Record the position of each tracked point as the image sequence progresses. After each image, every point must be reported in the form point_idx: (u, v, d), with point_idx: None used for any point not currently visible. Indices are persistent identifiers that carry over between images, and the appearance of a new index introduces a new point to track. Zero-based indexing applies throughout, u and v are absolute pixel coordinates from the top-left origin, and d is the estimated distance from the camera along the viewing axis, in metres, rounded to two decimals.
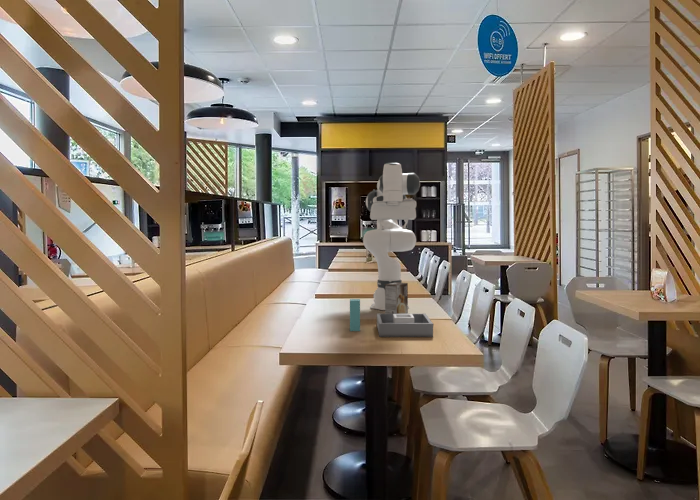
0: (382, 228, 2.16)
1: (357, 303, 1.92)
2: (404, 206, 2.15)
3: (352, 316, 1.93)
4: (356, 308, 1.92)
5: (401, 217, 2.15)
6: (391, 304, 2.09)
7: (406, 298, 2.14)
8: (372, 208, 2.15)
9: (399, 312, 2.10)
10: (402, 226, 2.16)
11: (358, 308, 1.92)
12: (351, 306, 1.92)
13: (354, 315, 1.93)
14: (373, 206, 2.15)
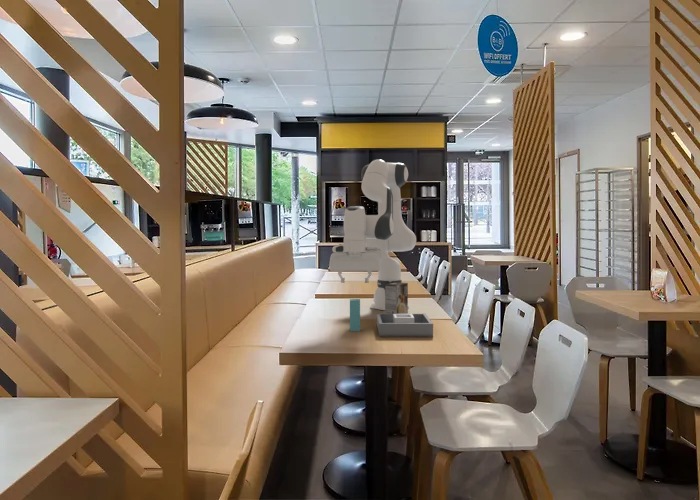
0: (342, 281, 1.93)
1: (357, 303, 1.92)
2: (367, 256, 1.91)
3: (352, 316, 1.93)
4: (356, 308, 1.92)
5: (363, 269, 1.91)
6: (391, 304, 2.09)
7: (406, 298, 2.14)
8: (331, 259, 1.91)
9: (399, 312, 2.10)
10: (365, 279, 1.93)
11: (358, 308, 1.92)
12: (351, 306, 1.92)
13: (354, 315, 1.93)
14: (332, 257, 1.91)
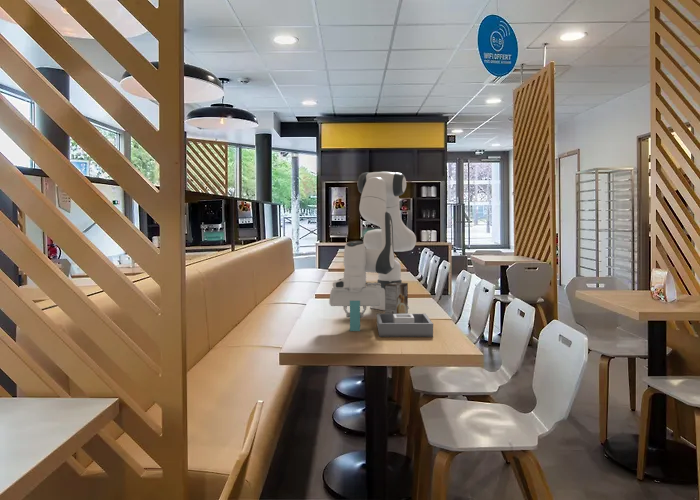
0: (348, 316, 1.94)
1: (357, 303, 1.92)
2: (367, 291, 1.92)
3: (352, 316, 1.93)
4: (356, 308, 1.92)
5: (364, 304, 1.92)
6: (391, 304, 2.09)
7: (406, 298, 2.14)
8: (331, 294, 1.92)
9: (399, 312, 2.10)
10: (360, 314, 1.94)
11: (358, 308, 1.92)
12: (351, 306, 1.92)
13: (354, 315, 1.93)
14: (332, 292, 1.92)
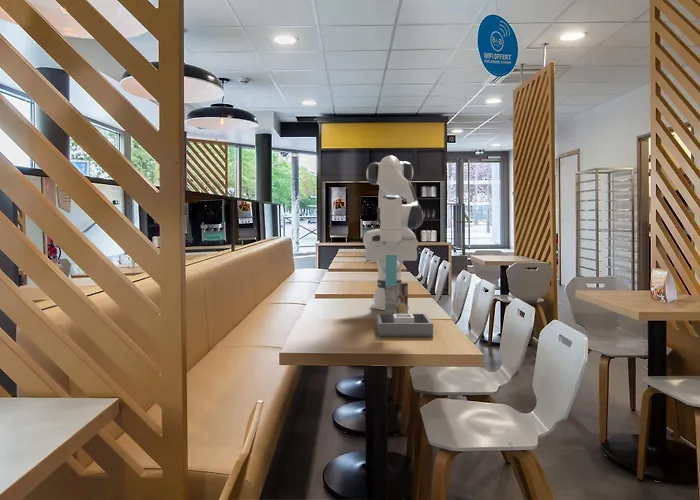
0: (384, 271, 1.91)
1: (393, 257, 1.89)
2: (403, 246, 1.89)
3: (388, 271, 1.90)
4: (392, 263, 1.90)
5: (400, 259, 1.90)
6: (391, 304, 2.09)
7: (406, 298, 2.14)
8: (367, 249, 1.89)
9: (399, 312, 2.10)
10: None
11: (394, 263, 1.90)
12: (387, 260, 1.90)
13: (390, 270, 1.90)
14: (368, 246, 1.89)
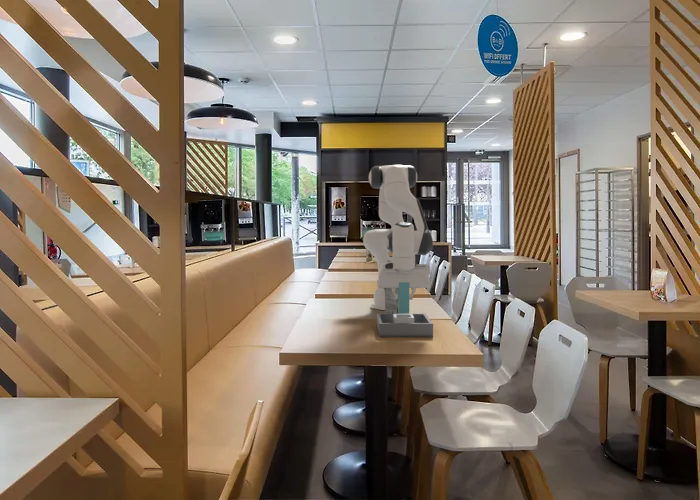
0: (396, 298, 1.91)
1: (406, 285, 1.89)
2: (416, 273, 1.89)
3: (401, 299, 1.90)
4: (405, 290, 1.90)
5: (413, 286, 1.90)
6: (391, 304, 2.09)
7: None
8: (380, 276, 1.89)
9: None
10: (409, 296, 1.91)
11: (407, 290, 1.90)
12: (400, 288, 1.90)
13: (403, 297, 1.90)
14: (381, 274, 1.89)
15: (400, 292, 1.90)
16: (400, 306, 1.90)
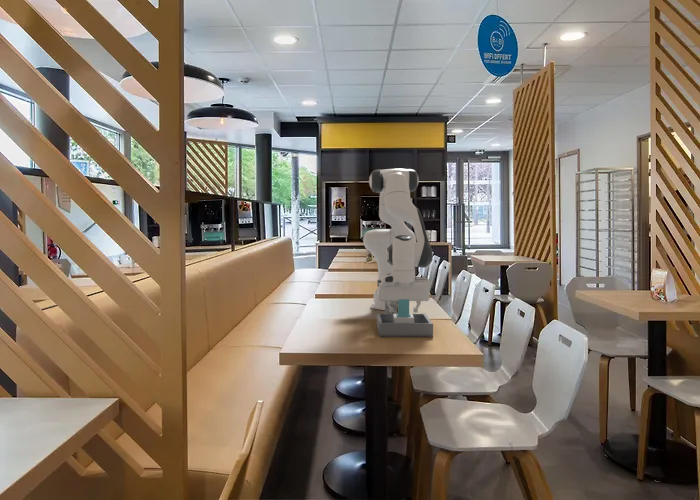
0: (391, 311, 1.91)
1: (406, 302, 1.90)
2: (416, 286, 1.90)
3: (401, 315, 1.90)
4: (405, 307, 1.90)
5: (413, 299, 1.90)
6: (391, 304, 2.09)
7: None
8: (380, 289, 1.90)
9: None
10: (414, 309, 1.91)
11: (407, 307, 1.90)
12: (400, 305, 1.90)
13: (403, 314, 1.90)
14: (381, 287, 1.89)
15: (400, 309, 1.90)
16: None
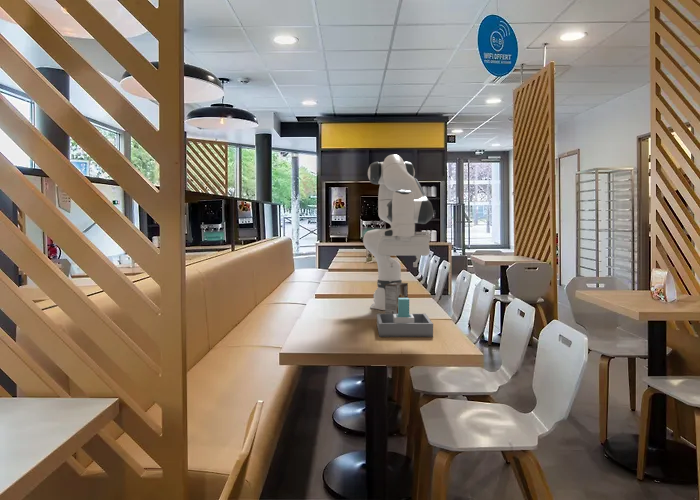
0: (391, 265, 1.91)
1: (406, 302, 1.90)
2: (416, 241, 1.89)
3: (401, 315, 1.90)
4: (405, 307, 1.90)
5: (412, 254, 1.89)
6: (391, 304, 2.09)
7: None
8: (380, 243, 1.89)
9: None
10: (413, 263, 1.91)
11: (407, 307, 1.90)
12: (400, 305, 1.90)
13: (403, 314, 1.90)
14: (381, 241, 1.89)
15: (400, 309, 1.90)
16: None
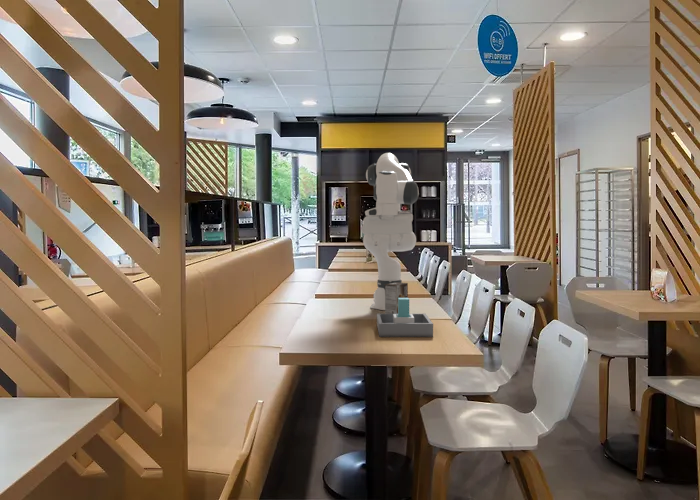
0: (375, 244, 1.98)
1: (406, 302, 1.90)
2: (399, 220, 1.96)
3: (401, 315, 1.90)
4: (405, 307, 1.90)
5: (396, 232, 1.97)
6: (391, 304, 2.09)
7: None
8: (364, 222, 1.96)
9: None
10: (397, 242, 1.98)
11: (407, 307, 1.90)
12: (400, 305, 1.90)
13: (403, 314, 1.90)
14: (365, 220, 1.96)
15: (400, 309, 1.90)
16: None
